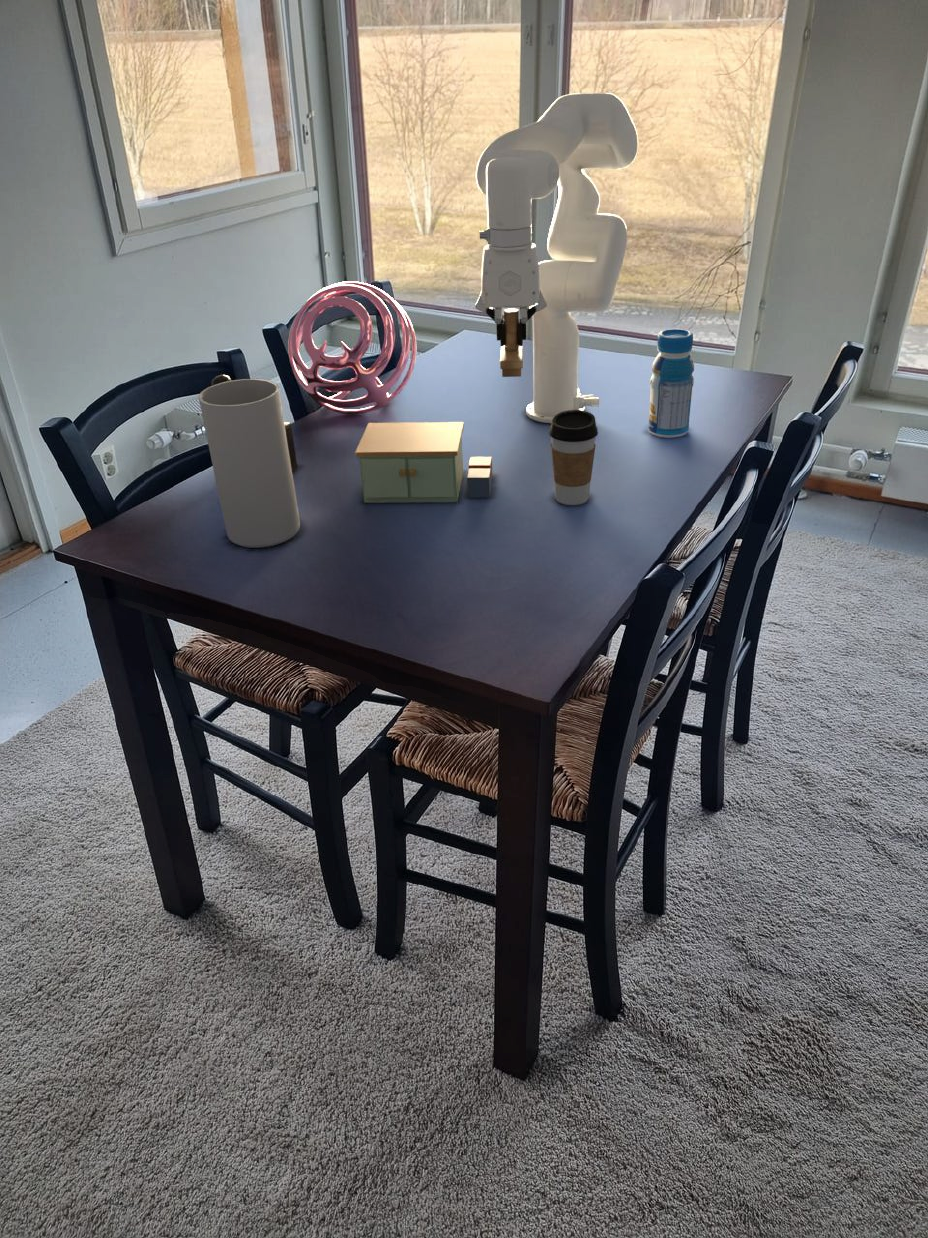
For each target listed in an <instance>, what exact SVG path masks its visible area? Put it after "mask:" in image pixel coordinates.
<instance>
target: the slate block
mask: <svg viewBox="0 0 928 1238" xmlns="http://www.w3.org/2000/svg"><path fill="white" fill-rule="evenodd" d="M466 488H467V498H468V499H469V498H470V499H471V498H472V499H475V498H477V499H482V498H483V499H490V498H491V493H492V489H493V487H492V481H491V468H469V467H468V471H467V475H466Z"/></svg>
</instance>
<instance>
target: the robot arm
mask: <svg viewBox="0 0 928 1238" xmlns="http://www.w3.org/2000/svg"><path fill="white" fill-rule="evenodd" d="M542 114H543V115H541V116H540V117H539V119H538V120H537V121H534V122H531V123H528V124H526V125H523V126H521V127H518V128H516V129H513V130H511V131H508V132H506V133H502V134H501V135H499V136H497V137H496V138H495V139H494V140H492V141H491V142H490V143H489V145H488V146H486V148H485V149H484V151H483V152H482V153H481V155H480V157H479V159H478V162H477V165H476V171H475V180H476V184H477V188H478V189H479V192H481V194H483V195H484V196H486V211H487V213H486V214H487V228H486V229H483V230H479V240H484V241H486V243H487V244H486V245H485V246H484V247H483V251H482V259H481V260H482V261H481V291H480V294H479V296H478V298H477V301H476V303H475V306H474V308H475V309H476V310H477V311H479V312H482V313H484V314H486V315H487V316H488V317H489V318H490V319H492V321H493V322H494V323H495V324H496V325H495V326H496V341H499V342H500V347H501V346H505V331H504V316H503V309H513V308H519V315H520V316H519V323H518V345H519V346H522V344H523V345H524V341H527V323H528V321H529V320H530V319H532V390H533V391H532V398H533V399H532V402H531V403H529V404H528V405H527V406H526V408H525V414H526V416H527V417H528V418H529V419H531V420H533V421H536V422H539V423H544V424H552V420H553V418H554V417H555V416H556V415H557V414H559V413H561V412H564V411H568V410H582V411H586V409H585V407H592V408H597V407H598V408H599V407H600V397H594V394H582V393H580V388H579V357H580V355H579V354H580V332H579V331H580V330H579V327H578V324H577V322H576V320H575V319H574V317H573V315H572V314H571V312H573V313H585V314H586V313H589V314H598V313H599V314H601V313H604V312H606V311H608V310H609V309H610V308H611V305H612V304H613V301H614V298H615V294H616V291H617V287H618V282H619V279H620V275H621V271H622V266H623V264H624V259H625V255H626V249H627V245H628V244H627V243H628V230H627V229H628V228H627V224H626V223H625V221H624V219H623V218H622V217H620V216H619V215H617V214H611V213H598V212H599V208H600V204H601V195H600V192H599V191H598V189H597V187H596V185H595V184H594V182H593V180H591V178H590V177H589V176H588V175H587V174H586V172H585V170H623V169H626V168H629V166H632V164H633V163H634V161H635V159H636V157H637V154H638V149H639V137H638V131H637V128H636V126H635V123H634V121H633V119H632V117H631V115H630V112H629V111H628V109H627V107H626V105H625V103H624V102H623V101H622V100H621V98H620V97H619V96H618V95H616V94H614V93H609V92H596V93H595V92H593V93H569V94H565V95H564V94H563V95H562V96H559V97H558V98H556V99H555V100H554V102H553V103H552V104H551V105H550V106H549V107H548V109H546V111H545V112H544V113H542ZM557 186H558V198H557V202H556V207H555V210H554V214H553V217H552V221H551V225H550V227H549V232H548V237H547V244H546V246H547V247H546V248H547V249H546V250H547V253H548V255H549V256H550V258H551V259H548V260H543V261H540V262H539V255H538V250H537V246H536V243H534V242H533V239H532V238H533V237H532V236H533V235H532V233H533V232H532V231H533V229H532V227H533V225H532V200H537V199H539V200H541V199H544V198H546V197H548V196H550V194H552V193H553V192H554V191H555V189H556V188H557Z"/></svg>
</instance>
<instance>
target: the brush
mask: <svg viewBox="0 0 928 1238" xmlns="http://www.w3.org/2000/svg"><path fill="white" fill-rule="evenodd" d="M519 315H520V312H519V308H505V309H504V310H503V320H504V331H505V346H501V345H500V359H499V365H500V370H501V377H502V378H516V377H517V378H519V377H522V369H524V349H523V348H524V343H523V344H522V346H519V345H518V323H519V318H520V316H519Z"/></svg>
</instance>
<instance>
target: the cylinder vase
mask: <svg viewBox="0 0 928 1238" xmlns="http://www.w3.org/2000/svg"><path fill="white" fill-rule="evenodd" d="M280 394H281V393H280V387H279V385H278V384H277V383H275V382H274V381H271V380H267V379H260V378H258V379H257V378H245V379H244V378H242V379H234V380H231V381H228V382H223V383H219V384H216V385H213V386H212V385H211V386H208V387H207V388H205V389H203V390H202V391H201V392H200V393H199V394H198V401H199V402H198V403H199V406H200V411H201V415H202V421H203V425H204V426H203V427H204V430H205V435H206V439H207V445H208V450H209V454H210V460H211V465H212V468H213V473H214V478H215V484H216V488H217V494H218V498H219V502H220V503H219V504H220V507H221V508H220V509H221V512H222V517H223V522H224V527H225V530H226V535H227V538H228V539H229V540H230V542H232V543H233V544H235V545H236V546H240V547H243V548H251V549H259V548H260V549H262V548H269V547H273V546H277V545H280V544H283V543H285V542H287V541H289V540H291V539H292V538H294V537H295V536H296V535H297V534H298V532H299V530H300V528H301V520H300V514H299V507H298V501H297V500H298V499H297V494H296V489H295V482H294V477H293V475H294V474H293V472H292V469H291V463H290V456H289V450H288V444H287V437H286V431H285V425H284V422H285V419H284V414H283V407H282V406H283V405H282V400H281V395H280Z"/></svg>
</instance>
